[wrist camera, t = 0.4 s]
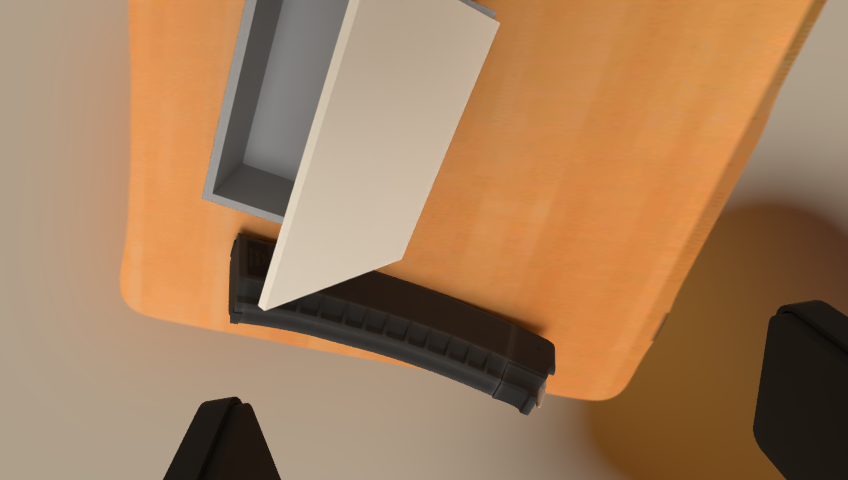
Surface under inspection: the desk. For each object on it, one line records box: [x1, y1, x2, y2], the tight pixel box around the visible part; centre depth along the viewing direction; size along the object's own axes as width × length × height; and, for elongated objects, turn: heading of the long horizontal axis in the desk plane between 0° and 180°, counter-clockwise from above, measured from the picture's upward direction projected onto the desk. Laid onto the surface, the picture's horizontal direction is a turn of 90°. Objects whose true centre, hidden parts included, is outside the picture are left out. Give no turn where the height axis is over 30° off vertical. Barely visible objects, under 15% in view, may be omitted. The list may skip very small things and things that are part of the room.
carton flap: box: [258, 0, 500, 311], centre depth 28 cm, size 17×13×1 cm
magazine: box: [229, 233, 555, 415], centre depth 43 cm, size 17×3×30 cm
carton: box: [202, 0, 496, 224], centre depth 36 cm, size 18×14×8 cm
